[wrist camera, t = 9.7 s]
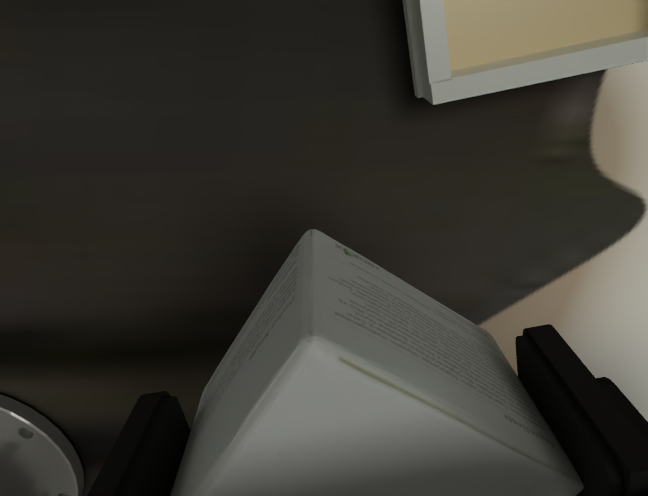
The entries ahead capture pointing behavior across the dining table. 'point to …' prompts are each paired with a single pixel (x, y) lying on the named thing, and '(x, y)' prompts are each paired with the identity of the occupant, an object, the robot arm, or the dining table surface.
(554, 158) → the dining table surface
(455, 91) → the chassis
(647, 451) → the robot arm
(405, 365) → the small box
